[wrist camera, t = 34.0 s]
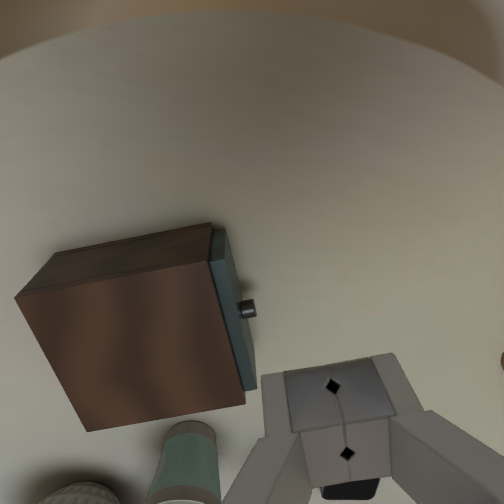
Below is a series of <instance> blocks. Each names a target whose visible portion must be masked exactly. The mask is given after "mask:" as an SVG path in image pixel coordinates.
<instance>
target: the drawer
mask: <svg viewBox="0 0 504 504" xmlns="http://www.w3.org/2000/svg"><path fill="white" fill-rule="evenodd" d="M209 263H210V267H211V270H212V274H213V278H214V281H215V285H216V289H217V292H218V296H219V300H220V304H221V307H222V311H223V315H224V318H225V322H226V326H227V329H228V333H229V337H230V340H231V344H232V348H233V352H234V355H235V359H236V363H237V366H238V370H239V374H240V377H241V381H242V385H243V388H244V391H250V390H255V389H257V379H256V366H255V353H254V345H253V341H252V337H251V332H250V328H249V324H248V320H247V318H252V317H256V316H257V314H256V308H255V303H254V300H253V299H249V300H244V301H243V299H242V295H241V291H240V287H239V282H238V278H237V274H236V270H235V266H234V262H233V257H232V253H231V249H230V245H229V241H228V237H227V232H226V230H221V231H216V232H213V234H212V243H211V252H210V261H209Z"/></svg>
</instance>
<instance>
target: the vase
mask: <svg viewBox="0 0 504 504" xmlns="http://www.w3.org/2000/svg"><path fill="white" fill-rule="evenodd" d="M37 504H121V502H120V501H119V500H118V498H117V497H116V496H115V494H114V493H113V492H112V491H111V490H110V489H109V488H107V487H106V486H104V485H101V484H98V483H94V482H77V483H73V484H71V485H68V486H66V487H64V488H62V489H60V490H58V491H56V492H54V493H52V494H50V495H49V496H47V497H46V498H44V499H43V500H42V501H40V502H39V503H37Z"/></svg>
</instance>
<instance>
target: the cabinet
mask: <svg viewBox="0 0 504 504" xmlns="http://www.w3.org/2000/svg"><path fill="white" fill-rule="evenodd" d="M213 232H214V231H213V227H212V223H211V222H210V223H205V224H200V225H195V226H189V227H184V228H179V229H174V230H169V231H164V232H159V233H154V234H149V235H144V236H139V237H134V238H129V239H124V240H118V241H113V242H108V243H103V244H98V245H93V246H88V247H83V248H78V249H73V250H68V251H63V252H58V253H55V254H54V255H53V256H52V257H51V258H50V259H49V260H48V262H47V263H46V264H45V265H44V266H43V267H42V268H41V269H40V270H39V271H38V272H37V274H36V275H35V276H34V277H33V278H32V279H31V280H30V281H29V282H28V283H27V284H26V286H25V287H24V288H23V289H22V290H21V291H20V292H19V293H18V294H17V295H16V296H15V297H14V299H15V300H16V302H17V304H18V306H19V308H20V310H21V311H22V313H23V315H24V317H25V319H26V321H27V323H28V324H29V326H30V328H31V330H32V332H33V334H34V335H35V337H36V339H37V341H38V343H39V345H40V347H41V348H42V350H43V352H44V354H45V356H46V358H47V359H48V361H49V363H50V365H51V367H52V369H53V371H54V372H55V374H56V376H57V378H58V380H59V382H60V383H61V385H62V387H63V389H64V391H65V393H66V395H67V396H68V398H69V400H70V402H71V404H72V406H73V407H74V409H75V411H76V413H77V415H78V417H79V419H80V420H81V422H82V424H83V426H84V428H85V430H86V431H87V432H91V431H97V430H102V429H108V428H114V427H119V426H125V425H130V424H136V423H142V422H147V421H153V420H159V419H164V418H170V417H176V416H181V415H187V414H193V413H198V412H204V411H210V410H215V409H221V408H227V407H232V406H238V405H244V404H246V397H245V391H244V388H243V385H242V381H241V377H240V374H239V370H238V366H237V363H236V359H235V355H234V352H233V348H232V344H231V340H230V337H229V333H228V329H227V326H226V322H225V318H224V315H223V311H222V307H221V304H220V300H219V296H218V292H217V289H216V285H215V281H214V278H213V274H212V270H211V267H210V263H209V261H210V252H211V243H212V234H213Z"/></svg>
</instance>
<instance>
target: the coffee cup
mask: <svg viewBox="0 0 504 504" xmlns="http://www.w3.org/2000/svg"><path fill="white" fill-rule="evenodd" d="M146 504H221V492H220V481H219V469H218V457H217V446H216V436H215V433H214V431H213V430H212V429H211V428H210V427H209V426H207V425H206V424H203V423H200V422H196V421H186V422H182V423H179V424H177V425H175V426H173V427H172V428H171V429H170V430H169V432H168V434H167V437H166V441H165V444H164V447H163V450H162V453H161V457H160V460H159V463H158V466H157V469H156V473H155V476H154V479H153V482H152V486H151V489H150V492H149V495H148V499H147V502H146Z"/></svg>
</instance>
